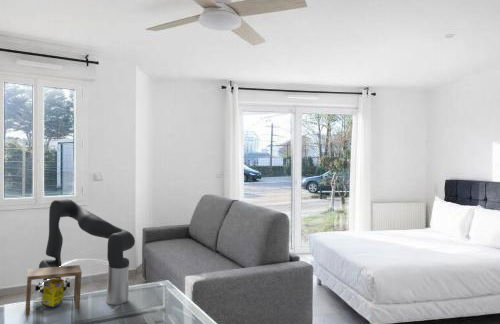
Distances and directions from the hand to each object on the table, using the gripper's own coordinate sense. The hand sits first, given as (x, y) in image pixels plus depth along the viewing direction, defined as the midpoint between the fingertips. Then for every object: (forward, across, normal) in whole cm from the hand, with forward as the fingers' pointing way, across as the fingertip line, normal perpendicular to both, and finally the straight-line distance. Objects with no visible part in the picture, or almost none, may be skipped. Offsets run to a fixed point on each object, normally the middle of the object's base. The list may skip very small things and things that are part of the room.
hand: (53, 290), depth 170 cm
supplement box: (0, 0, +7) cm, 7 cm away
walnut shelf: (0, 0, +8) cm, 8 cm away
